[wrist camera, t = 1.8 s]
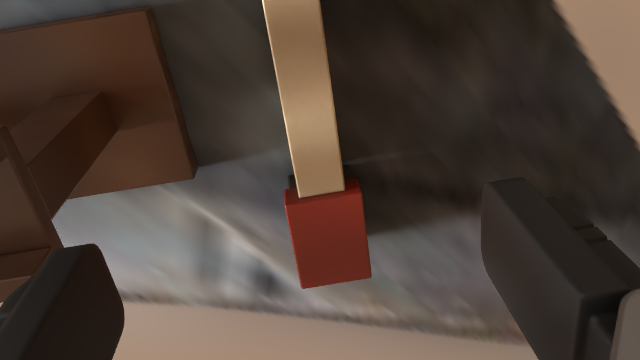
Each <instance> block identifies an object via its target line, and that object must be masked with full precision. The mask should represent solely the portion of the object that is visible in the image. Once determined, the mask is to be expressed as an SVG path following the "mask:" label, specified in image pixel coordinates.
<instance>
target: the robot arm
mask: <svg viewBox="0 0 640 360" xmlns="http://www.w3.org/2000/svg"><path fill="white" fill-rule="evenodd" d="M481 251H482V257H483V262H484V265H485V268H486V271H487V273H488V275H489V277H490V279H491V280H492V282H493V284H494V285H495V287H496V289H497V290H498V292H499V294H500V295H501V297H502V299H503V300H504V302H505V304H506V305H507V307H508V309H509V311H510V312H511V314H512V316H513V317H514V319H515V321H516V322H517V324H518V326H519V327H520V329H521V331H522V332H523V334H524V336H525V337H526V339H527V341H528V343H529V344H530V346H531V348H532V349H533V351H534V353H535V354H536V356H537V358H538V359H539V360H640V268H639V267H638V266H637V265H636V264H635V263H634V262H633V261H632V260H630V259H629V258H628V257H627V256H626V255H625V254H624V253H623V252H622V251H621V250H620V249H619V248H618V247H617V246H616V245H615V244H614V243H613V242H612V241H611V240H607V236H606V235H605V234H603V233H602V232H601V231H600V230H599V229H598V228H597V227H594V225H593V223H592V222H591V221H590V220H589V219H588V218H587V217H586V216H585V215H584V214H583V213H582V212H581V211H580V210H579V209H577V208H576V207H574V206H571V205H569V204H567V203H565V202H563V201H561V200H559V199H557V198H555V197H549V198H543V197H542V196H541V195H540V194H539V193H538V191H537V190H536V189H535V188H534V187H533V186H532V185H531V184H530V183H529V182H528V181H527V180H526V179H525V178H522V177H520V178H514V179H508V180H501V181H495V182H488V183H485V184H484V186H483V189H482V215H481ZM123 327H124V308H123V303H122V300H121V298H120V295H119V293H118V290H117V288H116V286H115V283H114V281H113V278H112V276H111V274H110V271H109V269H108V266H107V264H106V262H105V259H104V257H103V254H102V252H101V250H100V249H99V247H98V246H97V245H95V244H86V245H79V246H73V247H67V248H60V249H55V250H53V251H52V252H51V253H50V255H49V256H48V258H47V259H46V261H45V262H44V264H43V265H42V267H41V268H40V270H39V271H38V273H37V274H36V275H35V277H31V278H29V279H28V280H27V281H26V282H25V283H23V284H22V285H21V286H20V287H19V288H17V289H16V290H15V291H14V292H13V293H11V294H10V295H9V296H8V297H7V298H6V300H5V301H4V303H3V304H2V306H1V307H0V360H112V358H113V355H114V353H115V350H116V348H117V345H118V342H119V339H120V337H121V334H122V331H123Z"/></svg>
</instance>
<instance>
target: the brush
mask: <svg viewBox="0 0 640 360" xmlns="http://www.w3.org/2000/svg"><path fill="white" fill-rule="evenodd" d="M262 3H263V9H264V14H265V19H266V25H267V30H268V35H269V41H270V46H271V51H272V57H273V62H274V67H275V73H276V78H277V83H278V89H279V94H280V99H281V105H282V110H283V115H284V121H285V126H286V131H287V137H288V142H289V147H290V153H291V158H292V163H293V168H294V175H289V176H288V185H289V189H286V190H285V191H284V200H285V210H286V215H287V220H288V225H289V230H290V235H291V240H292V244H293V249H294V254H295V259H296V264H297V269H298V274H299V279H300V283H301V287H302V289H305V288H311V287H317V286H323V285H329V284H336V283H342V282H348V281H354V280H360V279H366V278H371V276H372V274H371V266H370V257H369V249H368V240H367V232H366V224H365V215H364V207H363V198H362V192H361V189H360V186H359V183H358V180H357V178H353V179H352V175H351V172H350V168H349V166H344V167H342V160H341V152H340V145H339V138H338V130H337V123H336V116H335V108H334V101H333V94H332V86H331V79H330V71H329V64H328V57H327V49H326V42H325V35H324V27H323V20H322V13H321V5H320V0H262Z"/></svg>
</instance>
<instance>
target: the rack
mask: <svg viewBox="0 0 640 360" xmlns="http://www.w3.org/2000/svg"><path fill="white" fill-rule="evenodd" d="M196 171H197V164H196V161H195V157H194V154H193V150H192V147H191V143H190V140H189V137H188V133H187V130H186V126H185V123H184V119H183V116H182V112H181V109H180V105H179V102H178V98H177V95H176V92H175V88H174V85H173V81H172V78H171V74H170V71H169V67H168V64H167V60H166V57H165V54H164V50H163V47H162V43H161V40H160V36H159V33H158V29H157V26H156V22H155V19H154V15H153V12H152V9H151V7H150V6H144V7H138V8H131V9H125V10H119V11H113V12H107V13H101V14H94V15H88V16H82V17H76V18H70V19H64V20H57V21H51V22H45V23H39V24H33V25H27V26H20V27H14V28H8V29H2V30H0V303H1V302H4V301H5V300H6V298H7V297H8V296H9V295H10V294H11V293H13V292H14V291H15V290H16V289H17V288H19V287H20V286H21V285H22V284H23V283H25V282H26V281H27V280H28V279H29V278H31V277H35V275H36V274H37V273H38V271H39V270H40V268H41V267H42V265H43V264H44V262H45V261H46V259H47V258H48V256H49V255H50V253H51V252H52V251H53V250H55V249H60V248H64V246H63V244H62V242H61V240H60V238H59V236H58V234H57V232H56V229H55V227H54V225H53V223H52V221H51V219H53V217H54V216H55V215H56V213H57V212H58V211H59V209H60V208H61V206H62V205H63V204H64V202H65V201H66V200H67V199H72V198H78V197H84V196H90V195H96V194H102V193H109V192H115V191H121V190H127V189H133V188H139V187H145V186H152V185H158V184H164V183H170V182H176V181H182V180H188V179H193V178H195V174H196Z"/></svg>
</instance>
